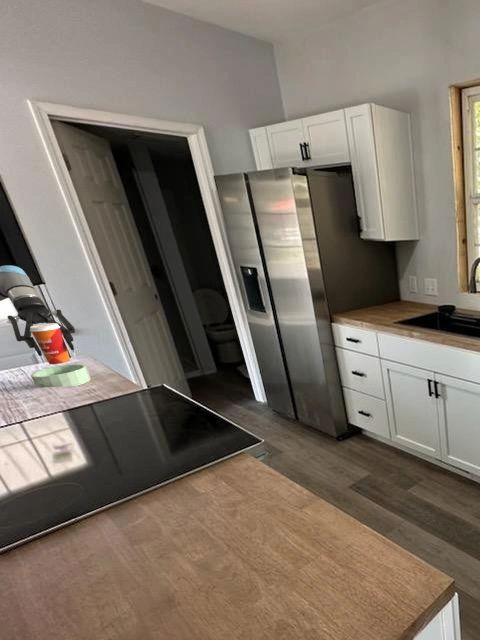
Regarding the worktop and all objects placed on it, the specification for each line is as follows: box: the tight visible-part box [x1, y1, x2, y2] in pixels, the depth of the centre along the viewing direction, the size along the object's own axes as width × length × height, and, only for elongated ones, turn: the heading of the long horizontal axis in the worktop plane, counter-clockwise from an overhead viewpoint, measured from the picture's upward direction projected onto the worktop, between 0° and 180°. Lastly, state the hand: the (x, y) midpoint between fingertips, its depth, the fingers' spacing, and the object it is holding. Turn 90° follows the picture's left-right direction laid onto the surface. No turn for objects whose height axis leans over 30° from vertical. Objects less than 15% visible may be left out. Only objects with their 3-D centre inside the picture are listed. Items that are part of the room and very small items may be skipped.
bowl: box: [30, 363, 92, 389], centre depth 155 cm, size 14×14×6 cm
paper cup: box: [30, 323, 71, 365], centre depth 151 cm, size 8×8×14 cm
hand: (56, 350), depth 150 cm, fingers closed on paper cup, 8 cm apart
